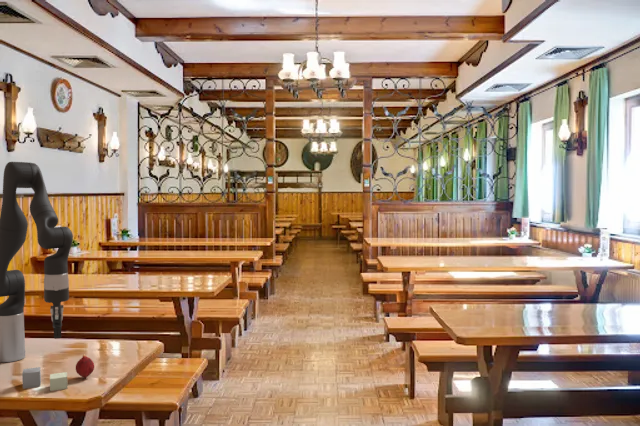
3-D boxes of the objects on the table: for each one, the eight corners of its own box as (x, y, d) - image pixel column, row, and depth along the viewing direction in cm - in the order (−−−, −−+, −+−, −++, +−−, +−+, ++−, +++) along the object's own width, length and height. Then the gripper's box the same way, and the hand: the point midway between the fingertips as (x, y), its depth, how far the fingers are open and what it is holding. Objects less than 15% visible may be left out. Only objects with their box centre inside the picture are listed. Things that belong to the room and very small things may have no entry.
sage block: (50, 391, 177) (49, 379, 177) (50, 386, 182) (50, 374, 182) (67, 389, 179) (67, 376, 179) (67, 384, 184) (67, 372, 184)
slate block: (22, 389, 180) (22, 373, 179) (23, 384, 184) (23, 369, 184) (40, 386, 182) (39, 371, 181) (40, 381, 186) (40, 366, 186)
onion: (98, 375, 191) (97, 352, 190) (86, 381, 186) (85, 357, 185) (84, 374, 193) (83, 351, 192) (72, 379, 187) (71, 356, 187)
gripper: (44, 284, 191) (45, 333, 193) (43, 291, 179) (44, 344, 180) (68, 282, 194) (69, 331, 196) (68, 289, 182) (69, 341, 184)
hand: (57, 337), depth 188 cm, fingers closed
